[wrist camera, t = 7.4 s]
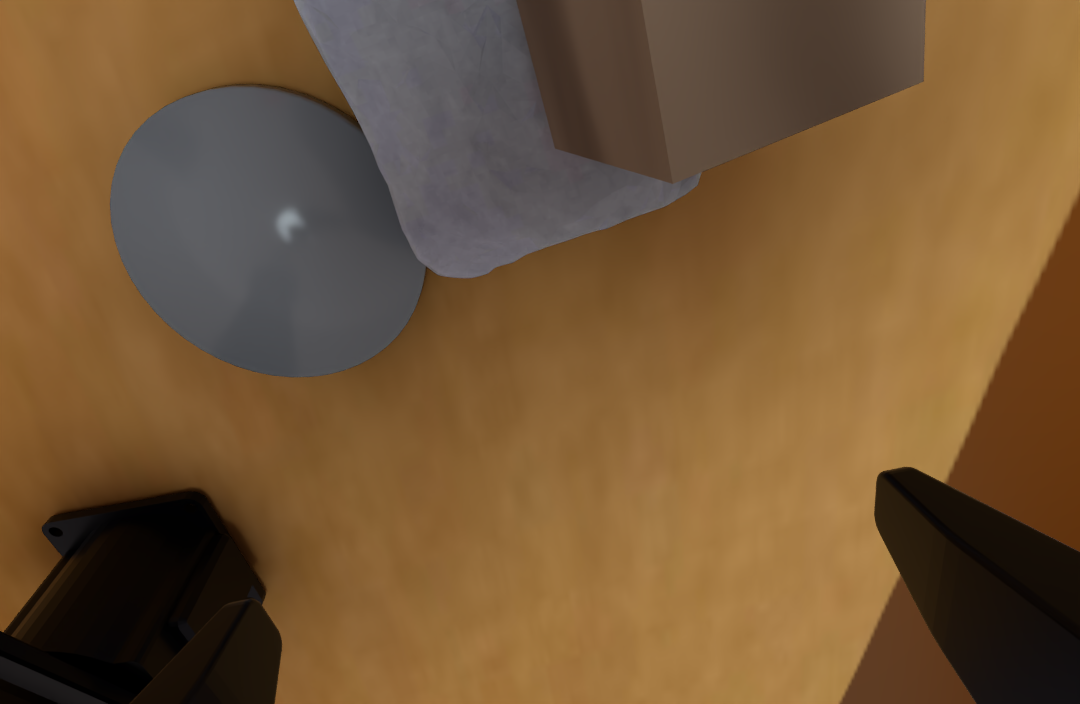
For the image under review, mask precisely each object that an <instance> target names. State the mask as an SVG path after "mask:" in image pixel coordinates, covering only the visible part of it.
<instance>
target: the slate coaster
mask: <svg viewBox="0 0 1080 704" xmlns="http://www.w3.org/2000/svg"><path fill="white" fill-rule="evenodd" d="M110 210H111V223H112V228H113V233H114V238H115V242H116V245H117V248H118V251H119V254H120V257H121V259H122V262H123V264H124V266H125V268H126V270H127V272H128V274H129V276H130V278H131V280H132V281H133V283H134V284H135V286H136V287H137V289H138V290H139V292H140V294H141V295H142V296H143V298H144V299H145V300H146V301H147V303H148V304H149V305H150V306H151V307H152V309H153V310H154V311H155V312H156V313H157V314H158V315H159V316H160V317H161V318H162V319H163V320H164V321H165V322H166V323H167V324H168V325H169V326H170V327H171V328H172V329H174V330H175V331H176V332H177V333H179V334H180V335H181V336H182V337H184V338H185V339H186V340H188V341H189V342H191V343H192V344H194V345H195V346H197V347H198V348H200V349H201V350H203V351H205V352H207V353H209V354H211V355H213V356H214V357H216V358H218V359H220V360H223V361H225V362H228V363H230V364H232V365H235V366H237V367H241V368H244V369H247V370H251V371H254V372H258V373H263V374H268V375H274V376H284V377H313V376H321V375H328V374H332V373H336V372H340V371H344V370H346V369H349V368H351V367H354V366H357V365H359V364H361V363H363V362H365V361H366V360H368V359H370V358H372V357H374V356H375V355H376V354H378V353H379V352H380V351H382V350H383V349H384V348H386V347H387V346H388V345H389V344H390V343H391V342H392V341H393V340H394V339H395V338H396V337H397V336H398V335H399V333H400V332H401V331H402V329H403V328H404V327H405V325H406V324H407V323H408V321H409V319H410V317H411V315H412V313H413V312H414V310H415V307H416V305H417V302H418V299H419V296H420V294H421V290H422V287H423V283H424V279H425V274H426V269H427V267H426V266H425V265H424V264H423V263H421V262H420V261H419V260H418V259H417V258H416V256H415V254H414V252H413V250H412V248H411V246H410V244H409V242H408V240H407V238H406V236H405V234H404V232H403V231H402V228H401V225H400V222H399V219H398V216H397V213H396V210H395V206H394V203H393V200H392V197H391V194H390V191H389V188H388V185H387V183H386V181H385V179H384V177H383V175H382V173H381V172H380V170H379V167H378V165H377V162H376V159H375V157H374V154H373V152H372V149H371V147H370V144H369V142H368V140H367V138H366V136H365V134H364V132H363V130H362V128H361V126H360V124H359V123H358V122H356V121H355V120H354V119H352V118H351V117H349V116H348V115H347V114H345V113H344V112H342V111H340V110H338V109H336V108H335V107H333V106H331V105H329V104H327V103H326V102H323V101H321V100H319V99H316V98H314V97H311V96H309V95H306V94H304V93H300V92H297V91H293V90H289V89H286V88H282V87H276V86H268V85H261V84H235V85H228V86H221V87H215V88H212V89H209V90H205V91H202V92H199V93H195V94H192V95H189V96H186V97H184V98H181V99H179V100H177V101H175V102H173V103H171V104H169V105H167V106H165V107H164V108H162V109H161V110H159V111H158V112H157V113H155V114H154V115H152V116H151V117H150V118H148V119H147V120H146V121H145V122H144V123H143V124H142V126H141V127H140V128H139V129H138V130H137V131H136V132H135V133H134V134H133V136H132V137H131V139H130V140H129V142H128V143H127V145H126V146H125V148H124V150H123V152H122V154H121V156H120V159H119V161H118V163H117V165H116V169H115V173H114V177H113V181H112V187H111V198H110Z"/></svg>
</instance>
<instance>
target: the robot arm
mask: <svg viewBox="0 0 1080 704" xmlns="http://www.w3.org/2000/svg"><path fill="white" fill-rule="evenodd" d="M191 504H193V505H195V506H193V505H191ZM874 516H875V522H876V526H877V528H878V531H879V533H880V535H881V537H882V539H883V541H884V543H885V545H886V547H887V549H888V551H889V553H890V555H891V556H892V558H893V560H894V562H895V564H896V566H897V568H898V570H899V572H900V574H901V576H902V578H903V580H904V582H905V584H906V586H907V588H908V590H909V592H910V594H911V595H912V597H913V599H914V601H915V603H916V605H917V607H918V609H919V611H920V613H921V615H922V617H923V619H924V621H925V623H926V624H927V626H928V628H929V630H930V632H931V634H932V635H933V637H934V639H935V640H936V642H937V643H938V645H939V647H940V648H941V650H942V652H943V653H944V654H945V656H946V658H947V659H948V661H949V662H950V664H951V665H952V667H953V668H954V670H955V671H956V673H957V675H958V676H959V678H960V679H961V681H962V682H963V684H964V685H965V687H966V688H967V690H968V691H969V693H970V695H971V696H972V698H973V699H974V701H975V702H976V704H1080V552H1079V551H1077V550H1075V549H1073V548H1071V547H1069V546H1067V545H1065V544H1063V543H1061V542H1059V541H1057V540H1055V539H1053V538H1051V537H1049V536H1047V535H1045V534H1043V533H1041V532H1039V531H1037V530H1035V529H1033V528H1031V527H1030V526H1028V525H1025V524H1023V523H1022V522H1020V521H1018V520H1016V519H1014V518H1012V517H1010V516H1008V515H1006V514H1004V513H1002V512H1000V511H998V510H996V509H994V508H992V507H990V506H988V505H986V504H984V503H982V502H980V501H978V500H976V499H974V498H972V497H970V496H968V495H966V494H964V493H962V492H960V491H959V490H957V489H955V488H953V487H951V486H949V485H947V484H945V483H943V482H941V481H939V480H937V479H935V478H933V477H931V476H929V475H927V474H925V473H923V472H921V471H919V470H917V469H915V468H912V467H902V468H897V469H892V470H887V471H883V472H881V473H880V474H879V475H878V477H877V482H876V496H875V511H874ZM42 532H43V534H44V535H45V536H46V537H47V539H48V540H49V541H50V542H51V543H52V545H53V546H54V547H55V548H56V549H57V550H58V552H59V553H60V554H61V555H62V556H63V557H62V558H61V560H60V561H59V562H58V564H57V565H56V566H55V567H54V569H53V570H52V571H51V572H50V574H49V575H48V576H47V578H46V579H45V580H44V581H43V583H42V584H41V585H40V586H39V588H38V589H37V590H36V592H35V593H34V594H33V595H32V597H31V598H30V599H29V600H28V602H27V603H26V604H25V606H24V607H23V608H22V609H21V611H20V612H19V613H18V614H17V616H16V617H15V618H14V620H13V621H12V622H11V623H10V625H9V626H8V627H7V628H6V630H5V631H4V632H1V631H0V704H275V696H276V689H277V681H278V674H279V667H280V659H281V652H282V640H281V636H280V633H279V631H278V629H277V627H276V626H275V624H274V623H273V621H272V620H271V618H270V617H269V615H268V614H267V612H266V611H265V609H264V608H263V606H262V604H263V601H264V599H265V596H266V594H265V591H264V589H263V588H262V586H261V585H260V583H259V581H258V580H257V578H256V577H255V575H254V573H253V572H252V570H251V569H250V567H249V565H248V564H247V562H246V561H245V559H244V557H243V556H242V554H241V553H240V551H239V549H238V548H237V546H236V545H235V543H234V541H233V540H232V538H231V536H230V535H229V533H228V532H227V530H226V528H225V527H224V525H223V524H222V522H221V520H220V519H219V517H218V516H217V514H216V512H215V511H214V509H213V508H212V506H211V504H210V503H209V501H208V500H207V498H206V497H205V496H204V495H202V494H200V493H198V492H184V493H178V494H173V495H167V496H161V497H156V498H150V499H144V500H139V501H133V502H127V503H122V504H116V505H110V506H105V507H99V508H94V509H88V510H82V511H77V512H71V513H65V514H60V515H54V516H52V517H50V518H49V520H48V521H47V522H46V523H45V524H44V525H43V527H42Z"/></svg>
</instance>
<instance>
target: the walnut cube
mask: <svg viewBox="0 0 1080 704" xmlns="http://www.w3.org/2000/svg"><path fill="white" fill-rule="evenodd" d="M516 2H517V5H518V9H519V13H520V17H521V21H522V25H523V28H524V32H525V36H526V40H527V44H528V47H529V51H530V55H531V59H532V63H533V67H534V70H535V74H536V78H537V82H538V86H539V90H540V93H541V97H542V101H543V105H544V109H545V113H546V116H547V120H548V124H549V128H550V132H551V136H552V139H553V143H554V147H555V149H558V150H561V151H565V152H568V153H571V154H575V155H578V156H581V157H585V158H588V159H591V160H595V161H598V162H601V163H605V164H608V165H611V166H615V167H618V168H621V169H625V170H628V171H631V172H635V173H638V174H641V175H645V176H648V177H651V178H655V179H658V180H661V181H665V182H668V183H671V184H674V183H676V182H679V181H681V180H684V179H686V178H689V177H691V176H694V175H696V174H698V173H701V172H703V171H706V170H708V169H711V168H713V167H716V166H718V165H720V164H723V163H725V162H728V161H730V160H733V159H735V158H738V157H740V156H742V155H745V154H747V153H750V152H752V151H755V150H757V149H760V148H762V147H764V146H767V145H769V144H772V143H774V142H777V141H779V140H782V139H784V138H787V137H789V136H791V135H794V134H796V133H799V132H801V131H804V130H806V129H809V128H811V127H813V126H816V125H818V124H821V123H823V122H826V121H828V120H831V119H833V118H835V117H838V116H840V115H843V114H845V113H848V112H850V111H853V110H855V109H857V108H860V107H862V106H865V105H867V104H870V103H872V102H875V101H877V100H879V99H882V98H884V97H887V96H889V95H892V94H894V93H897V92H899V91H902V90H904V89H906V88H909V87H911V86H914V85H916V84H919V83H921V82H923V81H924V45H925V9H926V0H516Z"/></svg>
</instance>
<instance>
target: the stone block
mask: <svg viewBox="0 0 1080 704" xmlns="http://www.w3.org/2000/svg"><path fill="white" fill-rule="evenodd" d="M294 2H295V5H296V7H297V9H298V11H299V13H300V15H301V17H302V19H303V21H304V23H305V25H306V27H307V29H308V31H309V33H310V35H311V37H312V39H313V41H314V43H315V45H316V46H317V48H318V50H319V52H320V54H321V56H322V58H323V60H324V62H325V63H326V65H327V67H328V69H329V70H330V72H331V74H332V75H333V77H334V79H335V81H336V82H337V84H338V86H339V87H340V89H341V91H342V92H343V94H344V96H345V98H346V100H347V101H348V103H349V105H350V107H351V109H352V110H353V112H354V114H355V116H356V118H357V120H358V122H359V124H360V126H361V128H362V130H363V132H364V134H365V136H366V138H367V140H368V142H369V144H370V147H371V149H372V152H373V154H374V157H375V159H376V162H377V165H378V167H379V170H380V172H381V173H382V175H383V177H384V179H385V181H386V183H387V185H388V188H389V191H390V194H391V197H392V200H393V203H394V206H395V210H396V213H397V216H398V219H399V222H400V225H401V228H402V231H403V232H404V234H405V236H406V238H407V240H408V242H409V244H410V246H411V248H412V250H413V252H414V254H415V256H416V258H417V259H418V260H419V261H420V262H421V263H423V264H424V265H425V266H426V267H428V268H429V269H430V270H432V271H433V272H435V273H436V274H437V275H441V276H445V277H454V278H474V277H478V276H481V275H485V274H488V273H489V272H490V271H492V270H493V269H494V268H496V267H498V266H501V265H505V264H509V263H513V262H515V261H516V260H518V259H520V258H521V257H523V256H525V255H526V254H528V253H531V252H534V251H537V250H540V249H543V248H546V247H549V246H552V245H555V244H558V243H561V242H565V241H568V240H571V239H573V238H576V237H579V236H582V235H584V234H587V233H591V232H594V231H597V230H603V229H607V228H609V227H612V226H614V225H616V224H618V223H621V222H623V221H625V220H628V219H631V218H634V217H636V216H639V215H642V214H645V213H648V212H651V211H654V210H657V209H660V208H663V207H665V206H667V205H669V204H670V203H672V202H674V201H675V200H677V199H679V198H680V197H682V196H684V195H686V194H687V193H688V192H690V191H691V190H692V189H693V188H695V187H696V186H697V185H698V182H699V179H700V175H701V173H698V174H696V175H694V176H691V177H689V178H686V179H684V180H681V181H679V182H676V183H674V184H671V183H668V182H665V181H661V180H658V179H655V178H651V177H648V176H645V175H641V174H638V173H635V172H631V171H628V170H625V169H621V168H618V167H615V166H611V165H608V164H605V163H601V162H598V161H595V160H591V159H588V158H585V157H581V156H578V155H575V154H571V153H568V152H565V151H561V150H558V149H555V147H554V143H553V139H552V136H551V132H550V128H549V124H548V120H547V116H546V113H545V109H544V105H543V101H542V97H541V93H540V90H539V86H538V82H537V78H536V74H535V70H534V67H533V63H532V59H531V55H530V51H529V47H528V44H527V40H526V36H525V32H524V28H523V25H522V21H521V17H520V13H519V9H518V5H517V2H516V0H294Z"/></svg>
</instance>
